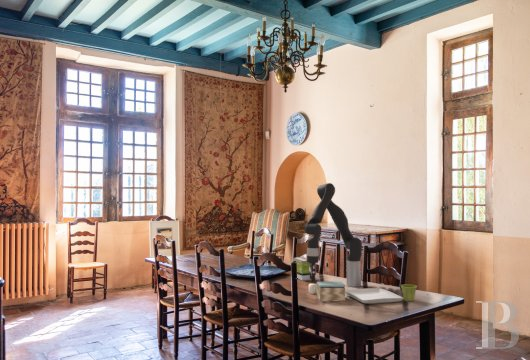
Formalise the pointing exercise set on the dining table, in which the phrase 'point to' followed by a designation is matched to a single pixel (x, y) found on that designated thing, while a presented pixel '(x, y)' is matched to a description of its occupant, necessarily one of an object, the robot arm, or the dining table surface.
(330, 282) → the box lid
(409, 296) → the plant pot
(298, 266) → the tea box
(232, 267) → the dining table surface
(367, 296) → the square plate
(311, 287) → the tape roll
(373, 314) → the dining table surface
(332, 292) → the woven basket
